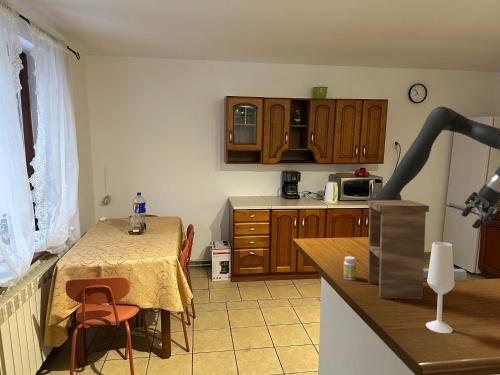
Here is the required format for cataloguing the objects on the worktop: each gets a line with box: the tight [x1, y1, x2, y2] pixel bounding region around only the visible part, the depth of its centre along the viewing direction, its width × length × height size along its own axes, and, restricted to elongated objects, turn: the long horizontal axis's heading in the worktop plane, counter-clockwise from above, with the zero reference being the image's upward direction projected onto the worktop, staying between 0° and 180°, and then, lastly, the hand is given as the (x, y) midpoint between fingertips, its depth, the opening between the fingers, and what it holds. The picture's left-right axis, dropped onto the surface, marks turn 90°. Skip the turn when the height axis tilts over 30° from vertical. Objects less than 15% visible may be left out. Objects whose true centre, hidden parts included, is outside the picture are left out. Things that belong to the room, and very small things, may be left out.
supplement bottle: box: [343, 255, 357, 281], centre depth 137 cm, size 5×5×8 cm
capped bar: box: [423, 267, 467, 280], centre depth 138 cm, size 4×28×4 cm, turn 86°
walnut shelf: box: [366, 199, 430, 300], centre depth 124 cm, size 16×16×32 cm
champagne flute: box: [425, 241, 456, 334], centre depth 96 cm, size 7×7×24 cm
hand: (468, 221), depth 136 cm, fingers open, 8 cm apart
